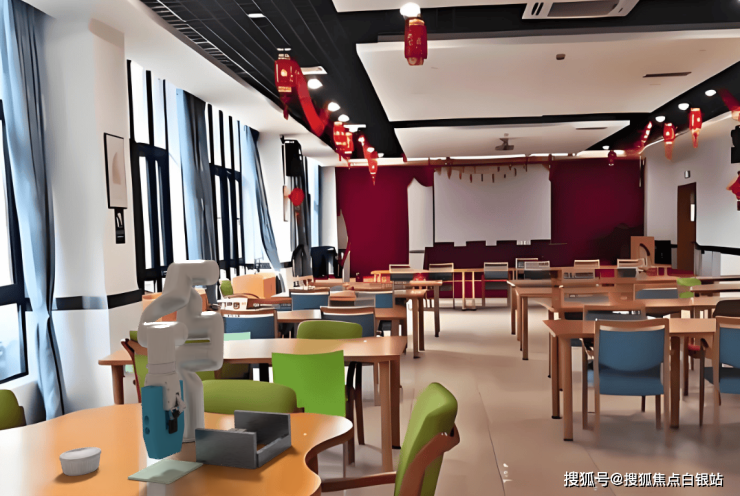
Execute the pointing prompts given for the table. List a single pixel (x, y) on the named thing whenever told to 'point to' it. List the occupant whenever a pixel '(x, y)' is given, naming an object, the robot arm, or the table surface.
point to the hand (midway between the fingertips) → (164, 431)
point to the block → (159, 424)
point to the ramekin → (80, 461)
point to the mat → (165, 471)
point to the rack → (245, 440)
